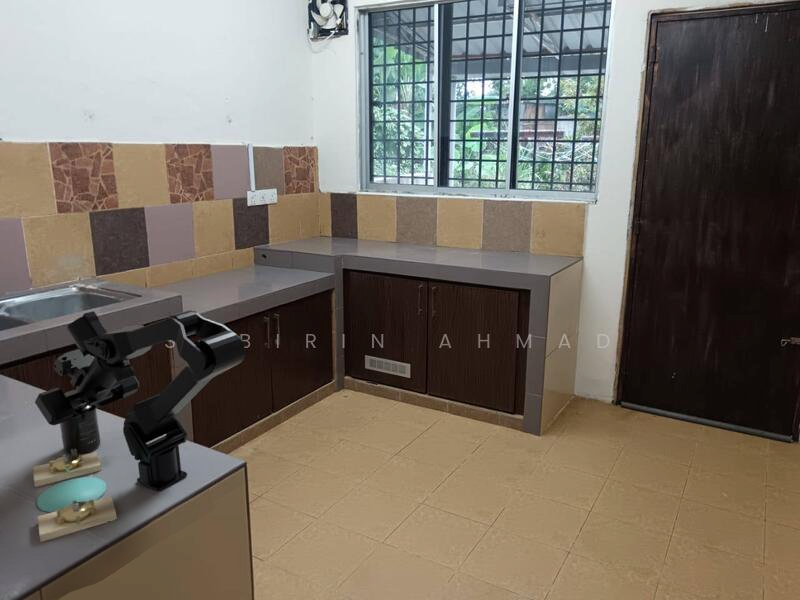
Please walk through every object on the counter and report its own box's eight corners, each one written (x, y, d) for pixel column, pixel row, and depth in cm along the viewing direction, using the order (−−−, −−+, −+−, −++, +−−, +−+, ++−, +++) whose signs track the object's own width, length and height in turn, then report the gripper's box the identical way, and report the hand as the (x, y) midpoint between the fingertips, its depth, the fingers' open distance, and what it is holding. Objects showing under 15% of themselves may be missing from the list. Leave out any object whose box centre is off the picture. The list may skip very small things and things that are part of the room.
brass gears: (49, 463, 117) (47, 448, 117) (81, 455, 120) (79, 441, 120) (59, 529, 97) (56, 512, 96) (97, 518, 100) (95, 502, 99)
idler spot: (35, 489, 111) (35, 488, 110) (102, 472, 116) (102, 471, 116) (38, 519, 102) (38, 518, 101) (110, 499, 107) (110, 498, 107)
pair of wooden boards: (33, 472, 116) (32, 467, 116) (97, 457, 122) (96, 451, 122) (40, 542, 96) (39, 535, 95) (116, 519, 101) (115, 513, 101)
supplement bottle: (56, 451, 124) (47, 396, 122) (86, 437, 130) (79, 385, 127) (78, 459, 121) (69, 403, 118) (108, 444, 127) (101, 390, 124)
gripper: (123, 327, 125) (96, 368, 134) (32, 354, 110) (8, 399, 118) (153, 370, 124) (124, 409, 132) (65, 403, 108) (38, 445, 116)
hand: (75, 414), depth 124 cm, fingers open, 9 cm apart
